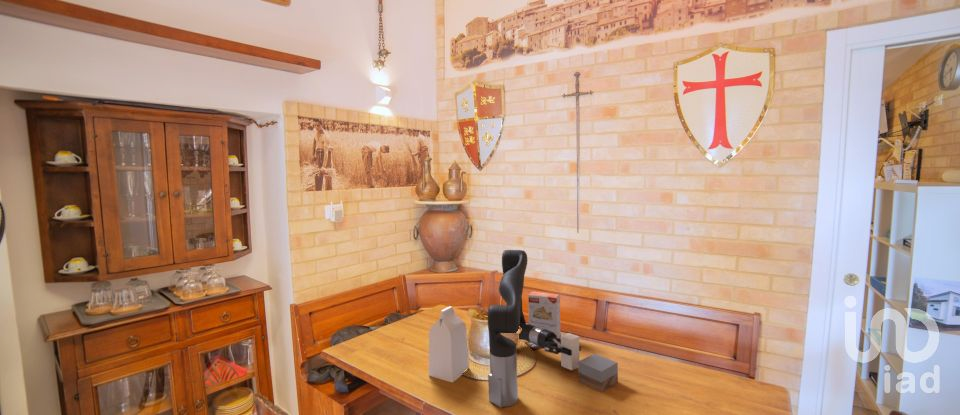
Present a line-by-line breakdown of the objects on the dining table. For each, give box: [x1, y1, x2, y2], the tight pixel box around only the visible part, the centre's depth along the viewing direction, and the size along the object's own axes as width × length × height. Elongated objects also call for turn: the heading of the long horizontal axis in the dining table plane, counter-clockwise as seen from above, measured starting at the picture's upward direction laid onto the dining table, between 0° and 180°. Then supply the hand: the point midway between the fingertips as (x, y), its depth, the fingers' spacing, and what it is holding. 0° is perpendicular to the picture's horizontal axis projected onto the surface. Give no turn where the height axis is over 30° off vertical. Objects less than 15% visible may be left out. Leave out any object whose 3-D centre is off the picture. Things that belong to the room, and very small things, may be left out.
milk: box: [428, 305, 470, 384], centre depth 155 cm, size 12×12×26 cm
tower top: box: [577, 353, 619, 382], centre depth 144 cm, size 10×10×4 cm
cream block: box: [560, 332, 580, 371], centre depth 153 cm, size 5×5×12 cm
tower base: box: [578, 372, 619, 393], centre depth 145 cm, size 10×10×4 cm
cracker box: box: [528, 291, 561, 338], centre depth 186 cm, size 14×6×21 cm, turn 62°
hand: (575, 350), depth 151 cm, fingers closed on cream block, 5 cm apart
